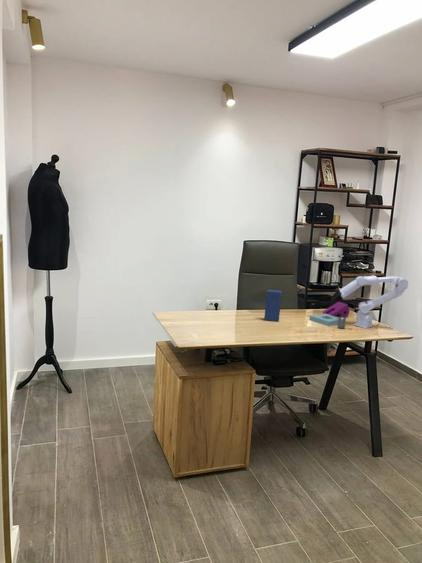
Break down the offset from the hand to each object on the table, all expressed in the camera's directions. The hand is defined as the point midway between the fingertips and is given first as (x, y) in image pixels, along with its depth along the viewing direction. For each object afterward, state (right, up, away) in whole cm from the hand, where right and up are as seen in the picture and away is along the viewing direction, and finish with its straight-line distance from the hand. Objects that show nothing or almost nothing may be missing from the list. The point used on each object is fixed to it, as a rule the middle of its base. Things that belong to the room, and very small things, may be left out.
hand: (331, 300), depth 308 cm
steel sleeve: (+3, -17, -11) cm, 21 cm away
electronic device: (-41, -13, -4) cm, 43 cm away
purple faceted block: (+7, -12, +20) cm, 25 cm away
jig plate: (-3, -14, +3) cm, 15 cm away
